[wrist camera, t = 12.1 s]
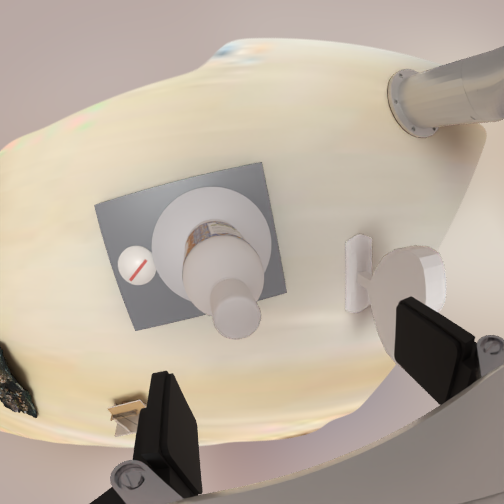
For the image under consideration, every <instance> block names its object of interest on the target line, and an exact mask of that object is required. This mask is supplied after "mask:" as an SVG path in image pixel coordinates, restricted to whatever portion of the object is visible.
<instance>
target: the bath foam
mask: <svg viewBox="0 0 504 504" xmlns="http://www.w3.org/2000/svg"><path fill="white" fill-rule="evenodd" d="M182 279H183V284H184V288H185V291H186V293H187V295H188V297H189V299H190V300H191V302H192V303H193V304H194V305H195V306H196V307H197V308H198V309H199V310H200V311H202V312H203V313H205V314H207V315H209V316H212V317H213V323H214V326H215V328H216V330H217V331H218V332H219V333H220V334H221V335H223V336H224V337H226V338H229V339H242V338H245V337H248V336H249V335H251V334H252V333H253V332H255V330H256V329H257V328H258V326H259V324H260V320H261V312H260V308H259V306H258V304H257V301H258V299H259V297H260V295H261V293H262V290H263V285H264V270H263V266H262V263H261V260H260V257H259V256H258V254H257V252H256V251H255V250H254V248H253V247H252V246H251V245H250V244H249V243H248V242H247V241H246V239H245V238H244V237H243V236H242V235H241V234H240V233H239V232H238V231H237V229H235V227H233V226H232V225H231V224H230V223H228V222H226V221H223V220H219V219H210V220H205V221H203V222H201V223H199V224H197V225H196V226H195V227H194V228H193V229H192V230H191V232H190V233H189V235H188V237H187V240H186V245H185V252H184V261H183V271H182Z"/></svg>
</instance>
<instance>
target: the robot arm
mask: <svg viewBox="0 0 504 504" xmlns="http://www.w3.org/2000/svg"><path fill="white" fill-rule="evenodd" d="M388 99H389V104H390V107H391V110H392V112H393V114H394V117H395V118H396V120H397V121H398V123H399V124H400V125H401V127H402V128H403V129H404V130H406V131H407V132H408V133H409V134H411V135H413V136H416V137H421V138H424V137H429V136H432V135H433V134H434V133H435V132H436V131H437V130H438V128H439V127H441V126H450V125H460V124H471V123H483V122H496V121H500V120H503V119H504V46H503V47H500V48H497V49H495V50H492V51H489V52H486V53H482V54H479V55H476V56H472V57H469V58H466V59H462V60H459V61H455V62H452V63H449V64H446V65H442V66H439V67H436V68H433V69H430V70H427V71H424V72H421V73H419V72H416V71H414V70H410V69H404V70H401V71H398V72H396V73H395V74H394V75H393V76H392V78H391V79H390V82H389V85H388ZM474 339H475V337H474V336H473V335H472V334H470V333H469V332H467V331H465V330H464V329H462V328H461V327H460V326H458V325H457V324H455V323H453V322H452V321H450V320H449V319H447V318H446V317H444V316H442V315H441V314H439V313H438V312H436V311H435V310H433V309H431V308H430V307H428V306H427V305H425V304H423V303H422V302H420V301H419V300H417V299H415V298H414V297H412V296H411V297H408V298H405V299H403V300H401V301H399V303H398V306H397V307H396V329H395V348H394V358H395V360H396V362H397V363H398V364H399V365H400V366H401V367H402V368H403V369H405V371H406V372H407V373H408V374H409V375H410V376H411V377H412V378H413V379H415V381H417V383H418V384H420V385H421V387H423V388H424V389H425V390H426V391H427V392H428V393H429V394H430V395H431V396H432V397H433V398H434V399H435V400H436V401H437V402H438V403H439V404H440V406H439V407H437V408H435V409H434V410H432V411H431V412H429V413H427V414H426V415H424V416H422V417H421V418H419V419H417V420H415V421H413V422H412V423H410V424H408V425H406V426H404V427H403V428H401V429H399V430H397V431H395V432H393V433H391V434H390V435H387V436H385V437H383V438H381V439H379V440H377V441H375V442H373V443H371V444H369V445H366V446H364V447H362V448H360V449H357V450H355V451H353V452H350V453H348V454H345V455H343V456H340V457H338V458H335V459H333V460H330V461H327V462H325V463H322V464H319V465H317V466H314V467H311V468H308V469H305V470H302V471H299V472H295V473H292V474H289V475H285V476H282V477H278V478H274V479H271V480H267V481H263V482H259V483H256V484H251V485H247V486H242V487H238V488H233V489H228V490H223V491H218V492H213V493H209V494H203V495H198V494H202V482H201V471H200V460H199V445H198V430H197V423H196V420H195V418H194V416H193V414H192V412H191V410H190V408H189V406H188V404H187V402H186V400H185V398H184V395H183V393H182V391H181V389H180V387H179V385H178V383H177V381H176V378H175V376H174V375H173V374H169V373H168V372H167V371H163V372H157V373H153V374H152V377H151V383H150V389H149V396H148V402H147V408H142V409H141V410H140V414H139V420H138V426H137V433H136V439H135V446H134V454H133V460H129V461H124V462H122V463H120V464H119V465H118V466H116V467H115V468H114V470H113V471H112V473H111V477H110V481H111V485H112V487H111V488H110V489H109V490H108V491H106V492H105V493H104V494H102V495H101V496H99V497H98V498H97V499H95V500H94V501H93V502H91V503H90V504H504V340H503V339H502V338H501V337H499V336H495V335H488V336H484V337H481V338H480V339H479V340H478V342H477V343H476V342H474Z"/></svg>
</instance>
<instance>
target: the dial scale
mask: <svg viewBox="0 0 504 504" xmlns="http://www.w3.org/2000/svg"><path fill="white" fill-rule="evenodd" d="M94 206H95V210H96V214H97V218H98V222H99V226H100V229H101V233H102V236H103V240H104V243H105V247H106V250H107V253H108V256H109V260H110V263H111V266H112V269H113V272H114V275H115V278H116V281H117V284H118V287H119V289H120V292H121V295H122V298H123V300H124V303H125V306H126V308H127V311H128V314H129V316H130V319H131V321H132V324H133V326H134V329H135V331H138V330H142V329H147V328H151V327H156V326H160V325H164V324H169V323H173V322H177V321H181V320H186V319H190V318H194V317H198V316H202V315H206V314H205V313H203V312H202V311H200V310H199V309H198V308H197V307H196V306H195V305H194V304H193V303H192V302H191V300H190V299H189V297H188V295H187V293H186V291H185V288H184V284H183V279H182V271H183V261H184V252H185V245H186V240H187V237H188V235H189V233H190V232H191V230H192V229H193V228H194V227H195V226H196V225H197V224H199V223H201V222H203V221H205V220H210V219H219V220H223V221H226V222H228V223H230V224H231V225H232V226H233V227H235V229H237V231H238V232H239V233H240V234H241V235H242V236H243V237H244V238H245V239H246V241H247V242H248V243H249V244H250V245H251V246H252V247H253V248H254V250H255V251H256V252H257V254H258V256H259V257H260V260H261V263H262V266H263V270H264V285H263V290H262V293H261V295H260V297H259V299H258V301H259V300H263V299H266V298H270V297H273V296H277V295H280V294H284V293H287V290H286V285H285V279H284V274H283V268H282V263H281V257H280V252H279V246H278V241H277V236H276V231H275V225H274V220H273V215H272V210H271V205H270V200H269V195H268V190H267V185H266V180H265V175H264V170H263V166H262V162H259V163H254V164H249V165H244V166H239V167H235V168H230V169H225V170H221V171H216V172H212V173H208V174H203V175H199V176H195V177H191V178H187V179H183V180H179V181H175V182H171V183H167V184H164V185H160V186H156V187H153V188H149V189H146V190H142V191H139V192H135V193H132V194H128V195H125V196H122V197H118V198H115V199H112V200H109V201H106V202H103V203H99V204H96V205H94Z"/></svg>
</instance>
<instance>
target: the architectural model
mask: <svg viewBox="0 0 504 504" xmlns="http://www.w3.org/2000/svg"><path fill="white" fill-rule="evenodd" d="M123 403H124V404H123ZM142 408H146V403H143V402H142V401H141V400H136V401H132V402H128V403H126V402H122V404H121V405H117V404H116V403H115V404H114V406H112V407H108V410H109V411H110V413H111V414H112V416H111V421H112V419H113V420H115V421H116V422H117V428H116V433H115V437H118V436H123V435H128V434H133V433H137V426H138V420H139V414H140V410H141V409H142Z"/></svg>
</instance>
